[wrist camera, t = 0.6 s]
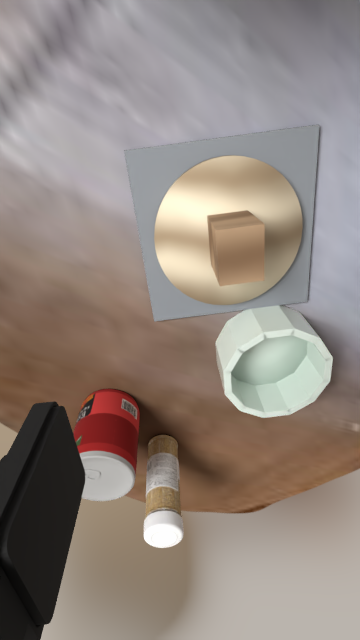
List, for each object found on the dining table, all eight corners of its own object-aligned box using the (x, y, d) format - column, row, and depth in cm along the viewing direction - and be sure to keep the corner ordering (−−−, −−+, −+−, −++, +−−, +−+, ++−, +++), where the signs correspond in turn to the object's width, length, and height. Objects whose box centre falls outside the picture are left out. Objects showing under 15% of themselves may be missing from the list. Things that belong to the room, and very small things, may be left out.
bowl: (212, 311, 40) (220, 337, 35) (313, 298, 40) (337, 322, 35) (219, 389, 46) (226, 422, 40) (307, 378, 46) (326, 409, 40)
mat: (124, 150, 32) (124, 150, 31) (316, 124, 31) (319, 124, 31) (154, 318, 40) (154, 321, 40) (305, 299, 40) (307, 301, 39)
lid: (143, 166, 32) (138, 173, 25) (302, 145, 32) (337, 146, 25) (165, 308, 39) (166, 341, 32) (295, 291, 39) (321, 321, 32)
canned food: (82, 383, 44) (61, 452, 35) (143, 390, 45) (139, 458, 36) (80, 426, 48) (60, 499, 38) (137, 431, 49) (131, 504, 39)
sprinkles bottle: (168, 458, 52) (170, 553, 40) (141, 448, 50) (136, 543, 39) (183, 439, 50) (191, 532, 38) (156, 428, 49) (155, 522, 37)
